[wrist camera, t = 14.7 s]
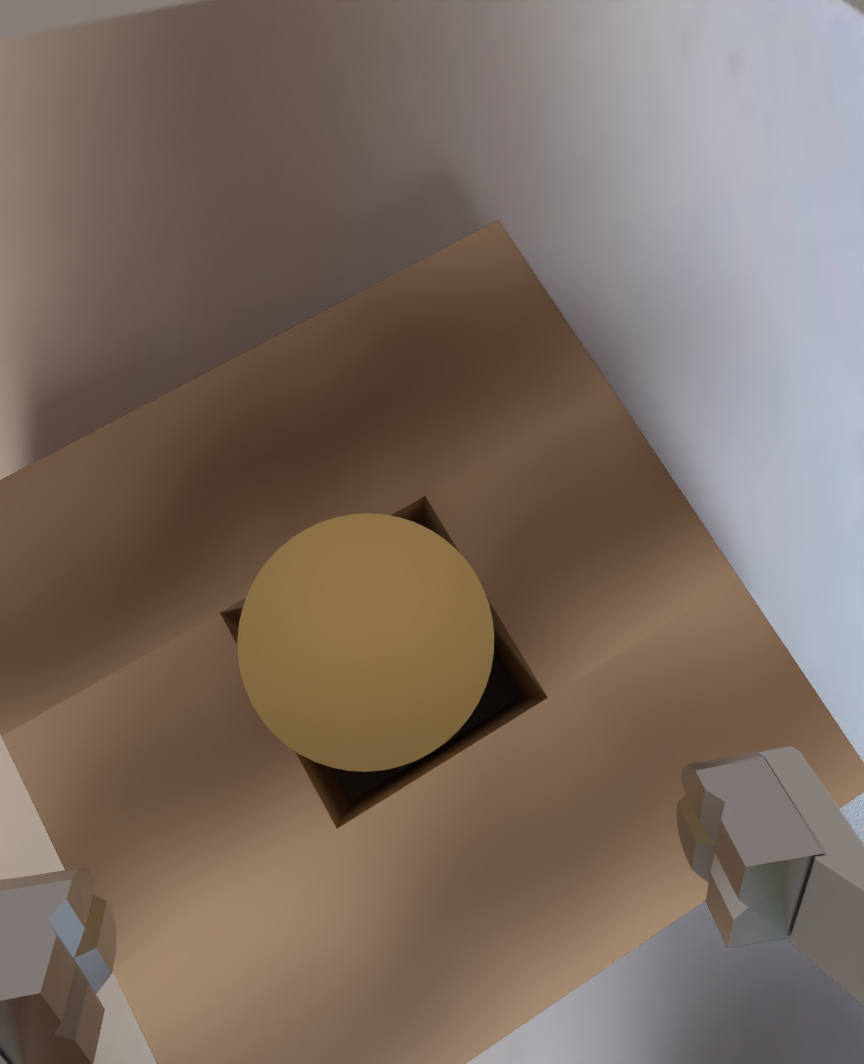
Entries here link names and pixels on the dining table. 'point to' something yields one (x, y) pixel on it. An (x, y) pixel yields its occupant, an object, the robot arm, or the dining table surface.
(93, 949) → the robot arm
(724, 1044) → the dining table surface
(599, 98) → the dining table surface
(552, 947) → the bore block
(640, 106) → the dining table surface
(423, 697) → the pin
